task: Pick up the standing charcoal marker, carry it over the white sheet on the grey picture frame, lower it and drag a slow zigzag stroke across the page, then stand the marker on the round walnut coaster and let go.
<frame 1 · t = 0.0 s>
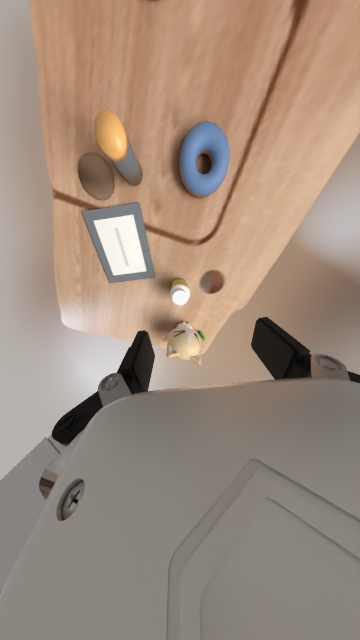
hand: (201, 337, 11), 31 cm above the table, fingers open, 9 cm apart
doughnut: (202, 169, 28), on the table
marker: (133, 172, 28), on the table
kitten: (184, 328, 48), on the table
supplement bottle: (179, 286, 40), on the table
coaster: (97, 178, 28), on the table
grey picture frame: (123, 248, 35), on the table
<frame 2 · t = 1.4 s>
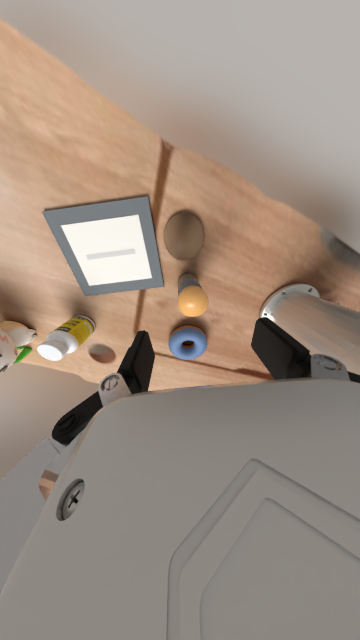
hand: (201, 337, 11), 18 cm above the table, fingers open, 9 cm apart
doughnut: (187, 337, 35), on the table
marker: (187, 283, 27), on the table
kitten: (23, 330, 32), on the table
supplement bottle: (84, 323, 31), on the table
coaster: (183, 238, 23), on the table
grey picture frame: (112, 254, 24), on the table
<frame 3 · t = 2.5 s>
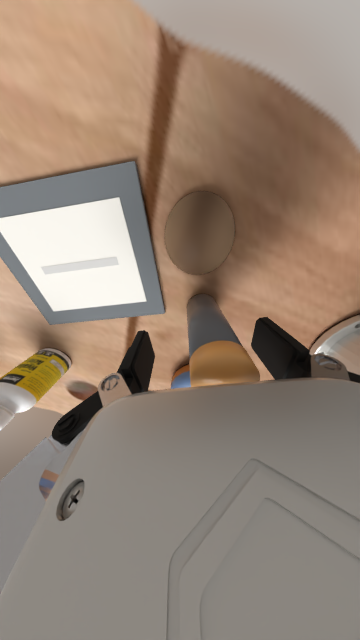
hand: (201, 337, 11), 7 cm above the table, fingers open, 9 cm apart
doughnut: (197, 376, 25), on the table
marker: (201, 308, 17), on the table
supplement bottle: (57, 357, 23), on the table
coaster: (198, 238, 13), on the table
grey picture frame: (83, 265, 15), on the table
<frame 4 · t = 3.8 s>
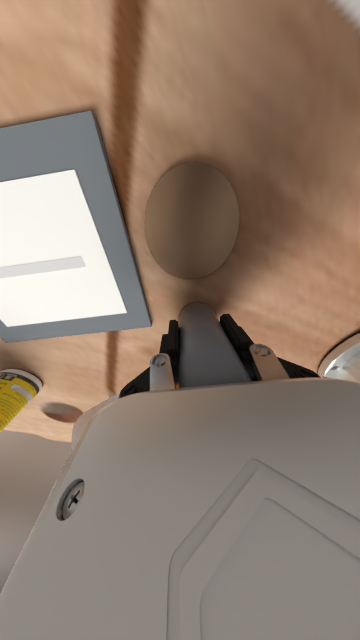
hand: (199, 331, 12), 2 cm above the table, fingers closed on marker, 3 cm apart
marker: (196, 319, 14), on the table, touching gripper
supplement bottle: (24, 378, 19), on the table
coaster: (191, 232, 10), on the table
grey picture frame: (38, 267, 11), on the table
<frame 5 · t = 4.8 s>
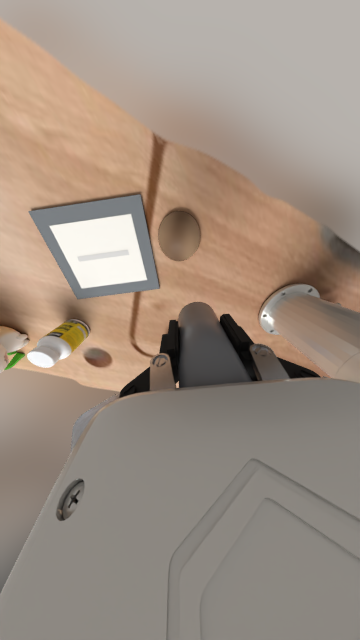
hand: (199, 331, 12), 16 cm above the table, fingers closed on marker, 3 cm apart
marker: (196, 318, 14), point 14 cm above the table, touching gripper
kitten: (14, 335, 31), on the table
supplement bottle: (78, 327, 30), on the table
coaster: (179, 238, 22), on the table
grey picture frame: (104, 255, 23), on the table
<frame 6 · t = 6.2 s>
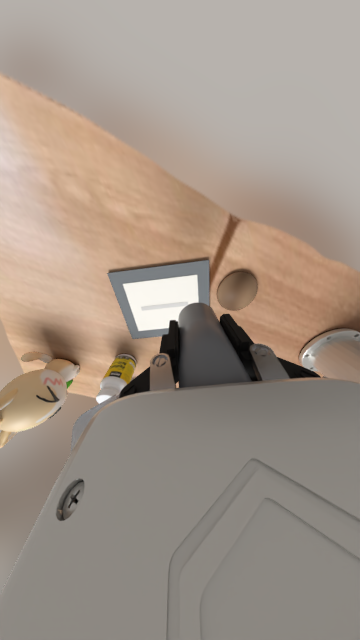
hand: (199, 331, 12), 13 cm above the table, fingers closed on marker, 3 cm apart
marker: (196, 319, 14), point 11 cm above the table, touching gripper
kitten: (67, 365, 34), on the table
supplement bottle: (126, 360, 33), on the table
coaster: (236, 291, 23), on the table
grey picture frame: (164, 304, 25), on the table
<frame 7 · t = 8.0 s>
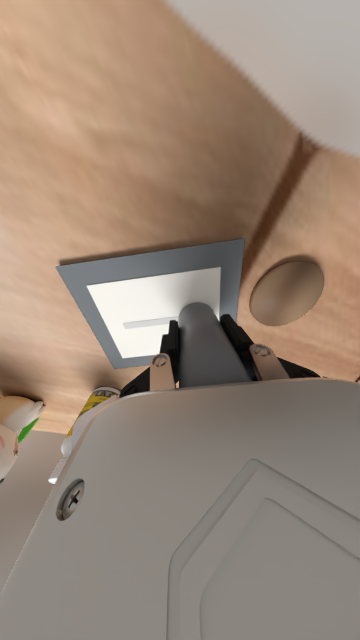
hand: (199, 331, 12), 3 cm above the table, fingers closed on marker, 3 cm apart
marker: (196, 319, 14), point 1 cm above the table, touching gripper
kitten: (26, 401, 24), on the table
supplement bottle: (109, 393, 23), on the table
coaster: (282, 296, 14), on the table
grey picture frame: (162, 318, 15), on the table
when the fingers open (4 cm above the table, at t = 16.3 s): marker stays where it is, resting on coaster.
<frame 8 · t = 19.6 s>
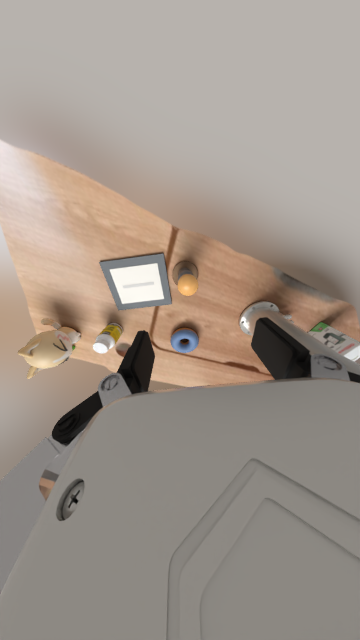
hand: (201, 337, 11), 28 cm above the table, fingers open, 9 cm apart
doughnut: (184, 336, 47), on the table
marker: (185, 275, 35), point 1 cm above the table, touching coaster
kitten: (71, 333, 45), on the table
supplement bottle: (115, 328, 45), on the table
coaster: (185, 275, 36), on the table
ink box: (313, 332, 47), on the table
grey picture frame: (138, 284, 37), on the table
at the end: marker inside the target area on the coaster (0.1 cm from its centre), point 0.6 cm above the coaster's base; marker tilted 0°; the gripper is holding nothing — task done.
